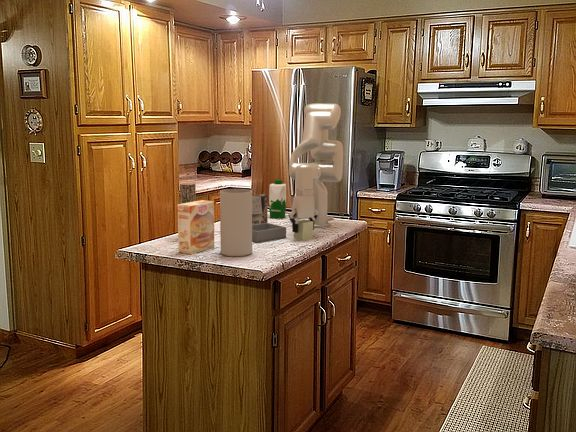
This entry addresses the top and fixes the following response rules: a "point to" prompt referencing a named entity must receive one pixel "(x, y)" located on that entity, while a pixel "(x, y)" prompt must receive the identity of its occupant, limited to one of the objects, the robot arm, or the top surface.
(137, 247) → the top surface
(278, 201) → the milk carton
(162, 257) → the top surface
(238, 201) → the cylinder vase
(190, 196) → the bark textured wooden post
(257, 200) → the coffee box
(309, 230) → the pale yellow block
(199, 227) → the coffeecake box
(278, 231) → the tub
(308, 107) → the robot arm
